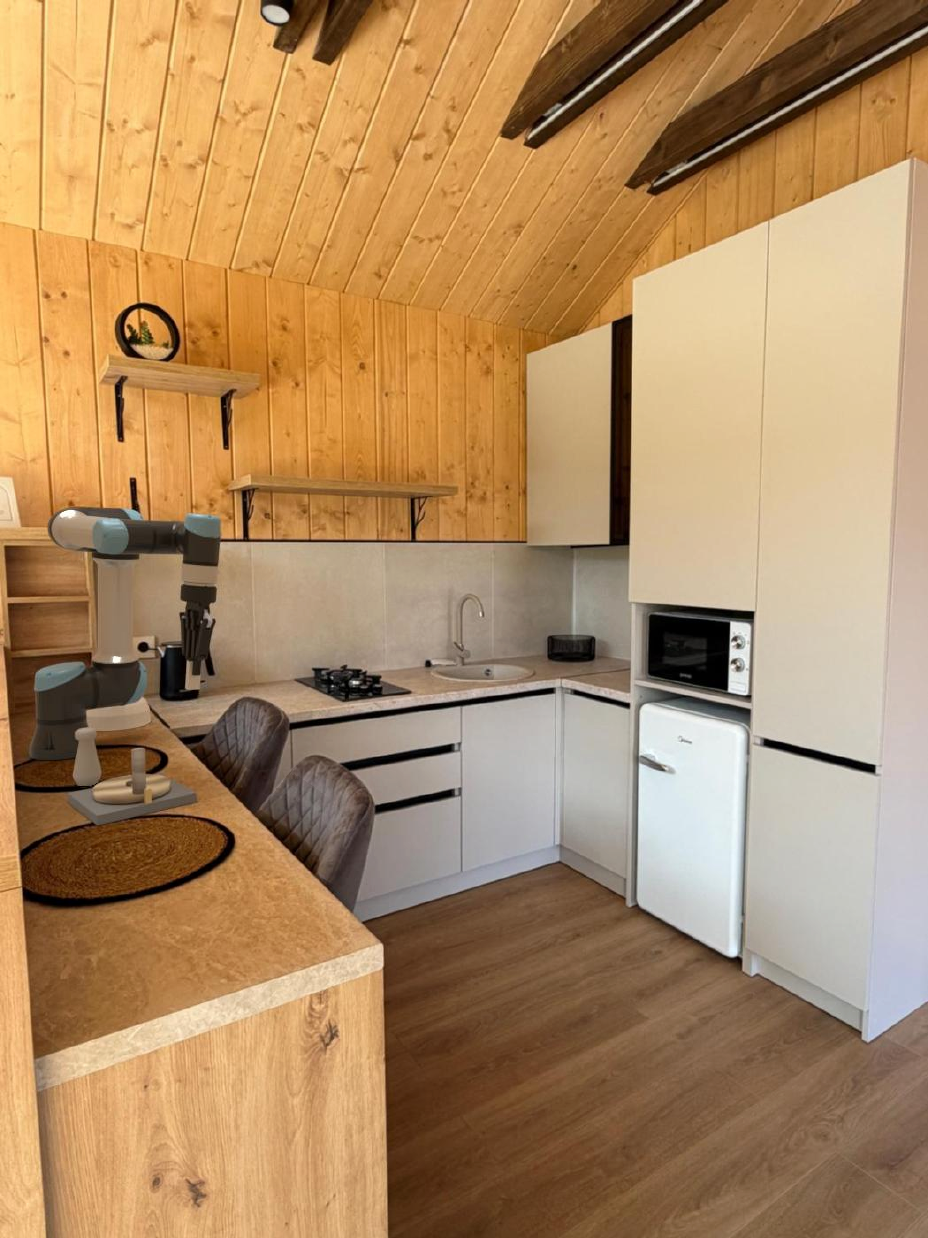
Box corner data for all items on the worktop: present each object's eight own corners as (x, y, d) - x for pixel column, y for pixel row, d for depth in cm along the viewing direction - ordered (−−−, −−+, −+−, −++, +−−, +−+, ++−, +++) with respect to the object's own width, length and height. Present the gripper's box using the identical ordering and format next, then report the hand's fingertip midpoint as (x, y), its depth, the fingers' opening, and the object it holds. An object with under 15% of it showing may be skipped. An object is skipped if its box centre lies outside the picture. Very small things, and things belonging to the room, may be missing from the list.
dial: (86, 789, 155) (84, 741, 154) (159, 776, 164) (158, 731, 163) (101, 809, 143) (99, 757, 142) (179, 794, 153) (178, 745, 152)
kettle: (149, 714, 238) (147, 659, 236) (153, 727, 219) (152, 669, 218) (79, 719, 229) (77, 663, 227) (78, 734, 210) (76, 673, 209)
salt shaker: (89, 789, 162) (87, 732, 161) (67, 787, 163) (65, 731, 162) (107, 781, 168) (105, 726, 167) (85, 779, 169) (83, 725, 168)
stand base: (67, 802, 153) (67, 779, 153) (162, 782, 168) (161, 761, 167) (97, 825, 141) (96, 800, 140) (196, 801, 155) (196, 779, 154)
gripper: (229, 587, 158) (222, 693, 160) (201, 582, 167) (195, 682, 169) (196, 586, 153) (189, 696, 155) (169, 580, 162) (163, 684, 164)
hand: (192, 688), depth 162 cm, fingers closed
